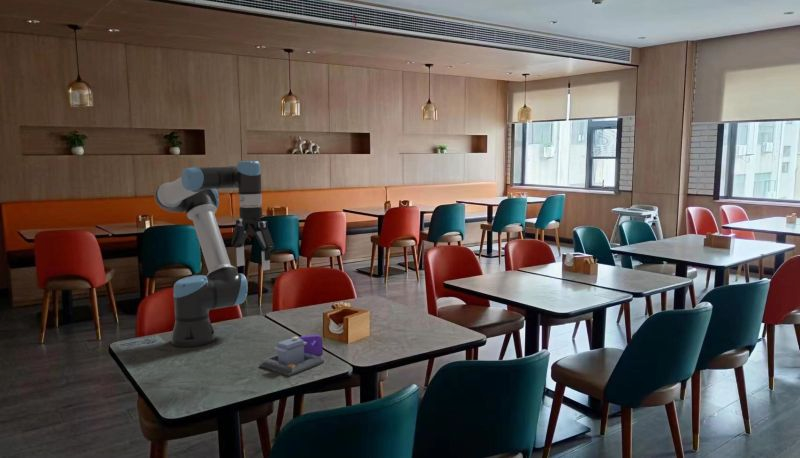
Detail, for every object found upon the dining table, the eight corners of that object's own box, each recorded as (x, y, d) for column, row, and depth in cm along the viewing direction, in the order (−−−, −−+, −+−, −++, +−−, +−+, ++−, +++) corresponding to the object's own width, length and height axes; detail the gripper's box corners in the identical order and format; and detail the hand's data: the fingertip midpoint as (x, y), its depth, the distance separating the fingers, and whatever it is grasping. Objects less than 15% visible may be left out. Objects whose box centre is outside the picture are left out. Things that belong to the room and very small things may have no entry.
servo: (274, 365, 192) (273, 341, 191) (298, 356, 199) (297, 333, 198) (284, 368, 189) (283, 344, 188) (307, 359, 197) (306, 336, 196)
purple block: (322, 355, 204) (322, 335, 203) (302, 357, 202) (301, 337, 201) (316, 344, 216) (316, 326, 215) (297, 346, 214) (296, 328, 213)
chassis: (259, 366, 193) (259, 358, 192) (294, 354, 204) (294, 346, 204) (289, 376, 184) (288, 367, 184) (323, 362, 196) (323, 354, 196)
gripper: (219, 205, 210) (222, 265, 212) (266, 208, 195) (268, 273, 197) (236, 204, 216) (239, 262, 218) (283, 207, 200) (285, 269, 203)
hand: (253, 267), depth 208 cm, fingers open, 13 cm apart
